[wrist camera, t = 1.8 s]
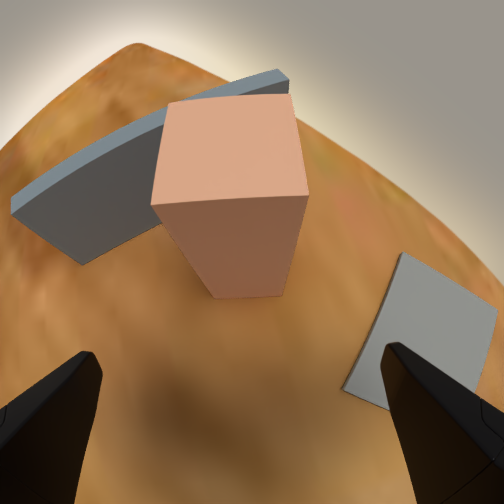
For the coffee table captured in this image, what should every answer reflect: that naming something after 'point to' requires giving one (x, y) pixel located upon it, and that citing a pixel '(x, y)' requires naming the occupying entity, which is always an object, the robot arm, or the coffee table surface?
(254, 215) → the salmon pink tall block
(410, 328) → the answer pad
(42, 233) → the screen
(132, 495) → the coffee table surface
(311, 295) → the coffee table surface
